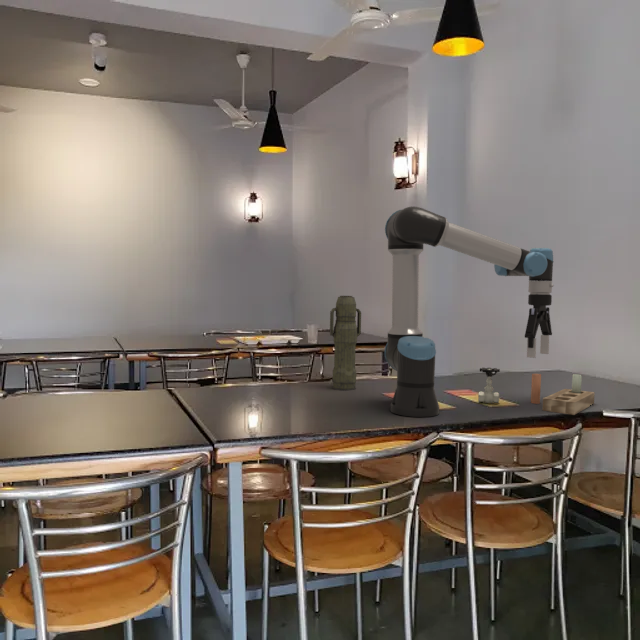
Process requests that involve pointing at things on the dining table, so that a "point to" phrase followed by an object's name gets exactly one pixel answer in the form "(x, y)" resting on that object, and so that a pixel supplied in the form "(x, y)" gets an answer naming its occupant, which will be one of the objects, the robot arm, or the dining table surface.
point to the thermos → (345, 342)
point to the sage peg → (576, 383)
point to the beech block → (568, 401)
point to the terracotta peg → (535, 388)
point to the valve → (489, 387)
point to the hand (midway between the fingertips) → (537, 355)
